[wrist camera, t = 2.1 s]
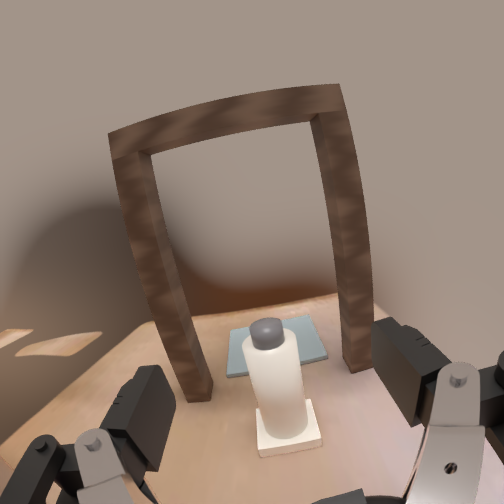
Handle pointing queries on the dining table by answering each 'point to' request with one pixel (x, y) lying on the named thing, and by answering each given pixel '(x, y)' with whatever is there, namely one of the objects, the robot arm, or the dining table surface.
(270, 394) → the white tall cylinder
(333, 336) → the dining table surface
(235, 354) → the mat
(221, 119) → the archway
